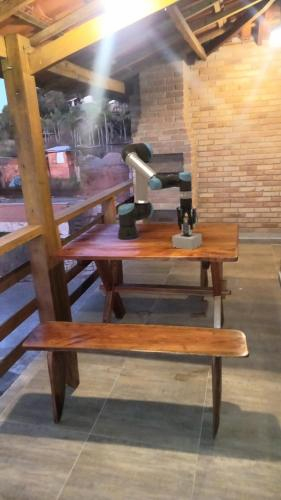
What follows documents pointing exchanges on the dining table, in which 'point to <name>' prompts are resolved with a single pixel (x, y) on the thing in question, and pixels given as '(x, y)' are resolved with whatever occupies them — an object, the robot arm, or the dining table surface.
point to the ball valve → (193, 224)
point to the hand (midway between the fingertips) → (187, 234)
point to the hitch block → (187, 241)
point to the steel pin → (186, 227)
